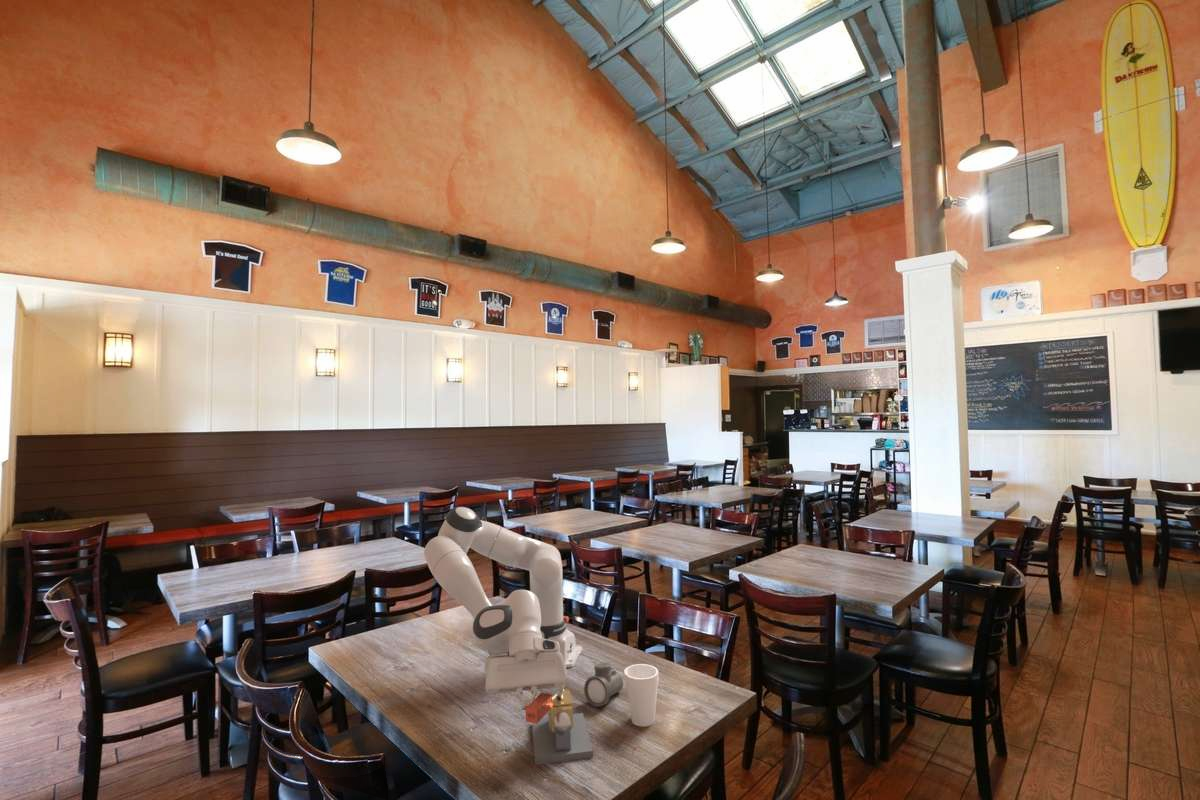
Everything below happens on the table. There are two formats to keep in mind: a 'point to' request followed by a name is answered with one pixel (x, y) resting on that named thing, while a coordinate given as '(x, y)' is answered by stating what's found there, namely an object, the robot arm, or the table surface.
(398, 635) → the table surface
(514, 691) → the robot arm
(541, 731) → the slate plate
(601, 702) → the pipe fitting
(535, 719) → the valve lever
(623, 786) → the table surface
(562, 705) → the pipe and valve
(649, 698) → the foam cup
